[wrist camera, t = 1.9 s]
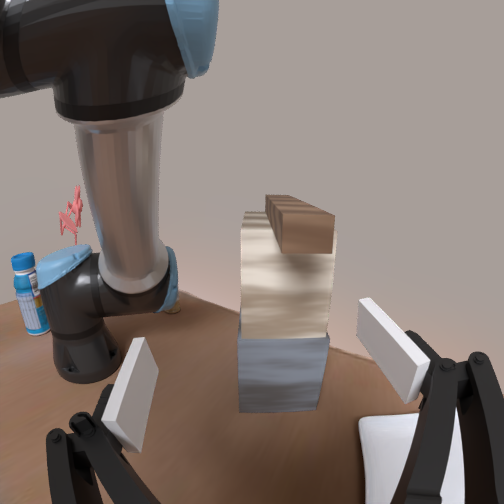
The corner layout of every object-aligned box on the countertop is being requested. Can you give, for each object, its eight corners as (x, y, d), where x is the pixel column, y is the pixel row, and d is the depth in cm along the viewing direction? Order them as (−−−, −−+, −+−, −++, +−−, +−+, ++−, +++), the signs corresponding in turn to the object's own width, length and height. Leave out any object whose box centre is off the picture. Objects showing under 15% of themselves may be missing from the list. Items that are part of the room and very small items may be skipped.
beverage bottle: (28, 339, 47) (6, 262, 42) (26, 325, 53) (9, 255, 48) (55, 332, 53) (36, 255, 48) (51, 319, 59) (36, 249, 54)
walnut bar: (332, 253, 21) (334, 215, 20) (281, 253, 21) (282, 214, 20) (288, 212, 48) (288, 195, 47) (265, 211, 48) (265, 194, 47)
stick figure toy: (71, 321, 60) (54, 186, 51) (68, 289, 79) (57, 188, 71) (122, 311, 69) (111, 181, 61) (106, 283, 88) (99, 184, 80)
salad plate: (463, 415, 29) (471, 401, 28) (497, 507, 9) (512, 495, 8) (352, 428, 33) (357, 414, 32) (354, 551, 12) (364, 545, 12)
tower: (315, 409, 37) (342, 232, 30) (239, 412, 37) (236, 230, 30) (299, 346, 56) (309, 212, 48) (243, 346, 56) (242, 211, 48)
